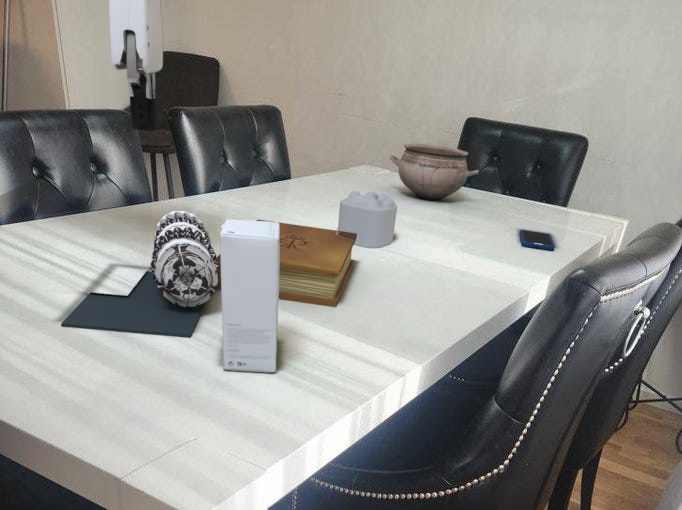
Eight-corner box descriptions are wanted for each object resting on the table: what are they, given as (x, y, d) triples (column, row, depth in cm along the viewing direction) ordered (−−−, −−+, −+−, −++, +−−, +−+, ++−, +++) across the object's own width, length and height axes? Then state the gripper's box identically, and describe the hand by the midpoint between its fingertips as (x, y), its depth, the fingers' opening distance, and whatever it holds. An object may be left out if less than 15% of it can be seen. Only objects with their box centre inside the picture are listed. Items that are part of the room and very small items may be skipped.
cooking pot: (376, 194, 176) (381, 144, 169) (395, 185, 191) (401, 139, 184) (466, 211, 170) (475, 160, 164) (478, 200, 186) (487, 153, 179)
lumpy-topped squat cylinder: (330, 238, 132) (334, 193, 127) (359, 228, 142) (363, 185, 137) (376, 250, 128) (382, 203, 124) (402, 238, 138) (408, 195, 134)
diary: (252, 251, 118) (253, 218, 115) (353, 266, 117) (357, 233, 114) (215, 289, 99) (214, 251, 96) (335, 307, 98) (339, 269, 95)
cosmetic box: (275, 374, 77) (280, 239, 68) (218, 371, 76) (216, 233, 67) (277, 346, 84) (282, 220, 75) (225, 343, 83) (224, 215, 74)
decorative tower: (142, 248, 105) (138, 294, 84) (167, 196, 102) (169, 230, 81) (194, 277, 109) (202, 326, 89) (220, 227, 106) (234, 267, 86)
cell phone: (521, 245, 144) (522, 242, 144) (519, 232, 155) (519, 228, 155) (554, 250, 143) (555, 247, 143) (549, 236, 155) (550, 233, 154)
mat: (61, 326, 82) (61, 323, 81) (113, 270, 101) (113, 267, 101) (190, 337, 83) (190, 334, 83) (216, 280, 103) (216, 277, 103)
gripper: (120, -31, 88) (131, 120, 99) (86, -43, 76) (102, 132, 86) (176, -23, 89) (181, 127, 99) (151, -33, 77) (160, 139, 87)
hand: (144, 129), depth 93 cm, fingers closed
